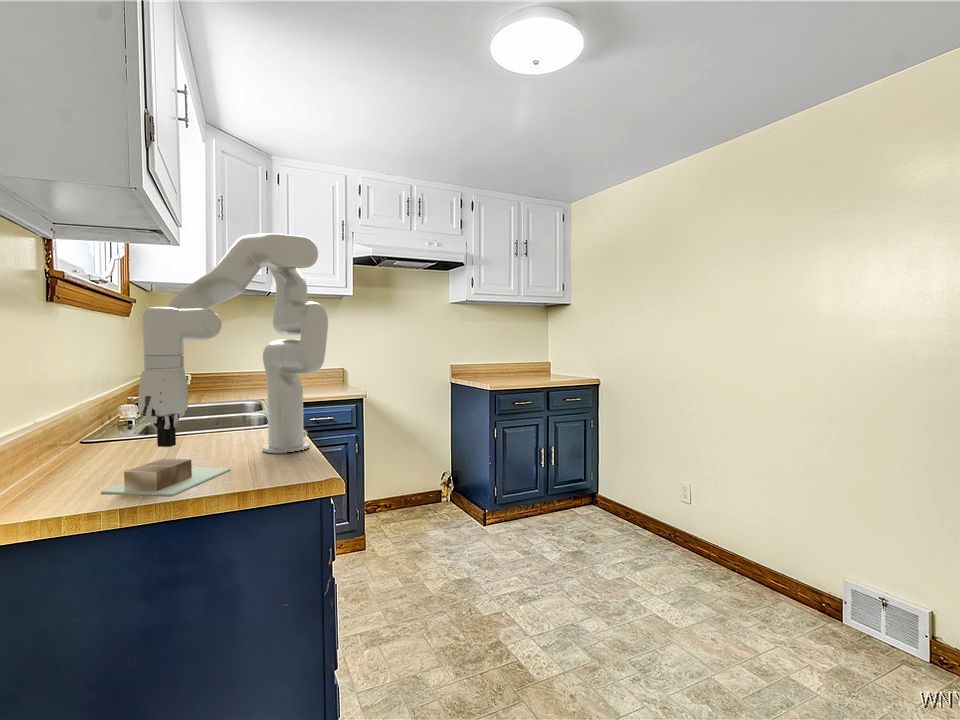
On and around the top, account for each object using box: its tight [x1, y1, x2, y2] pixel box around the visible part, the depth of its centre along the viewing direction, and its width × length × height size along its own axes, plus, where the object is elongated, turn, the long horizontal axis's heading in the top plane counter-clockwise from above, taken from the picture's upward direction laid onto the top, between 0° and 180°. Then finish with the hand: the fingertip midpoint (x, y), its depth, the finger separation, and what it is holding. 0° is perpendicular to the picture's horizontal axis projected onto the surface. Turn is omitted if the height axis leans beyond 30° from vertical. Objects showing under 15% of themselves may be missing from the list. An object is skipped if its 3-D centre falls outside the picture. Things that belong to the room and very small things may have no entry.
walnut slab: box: [123, 458, 193, 492], centre depth 111 cm, size 4×7×11 cm
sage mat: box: [100, 466, 232, 497], centre depth 115 cm, size 20×16×1 cm
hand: (166, 445), depth 113 cm, fingers closed
